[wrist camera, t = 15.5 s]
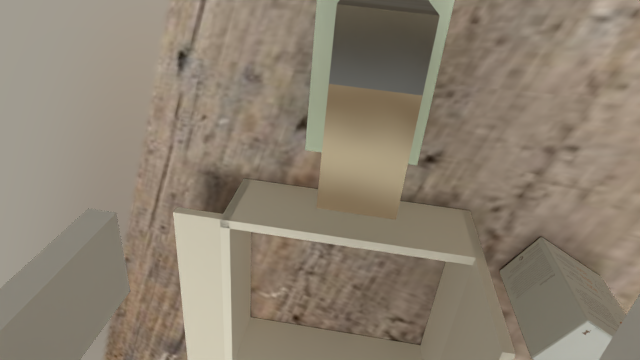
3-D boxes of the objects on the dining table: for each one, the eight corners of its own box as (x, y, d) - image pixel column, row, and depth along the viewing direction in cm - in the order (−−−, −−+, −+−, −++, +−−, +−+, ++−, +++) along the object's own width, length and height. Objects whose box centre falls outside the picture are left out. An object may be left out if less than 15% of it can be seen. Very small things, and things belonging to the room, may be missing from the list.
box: (392, 141, 37) (396, 219, 27) (335, 133, 37) (316, 208, 27) (421, -10, 31) (439, 15, 21) (352, -18, 31) (336, 4, 21)
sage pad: (416, 162, 38) (417, 165, 38) (306, 147, 39) (305, 150, 38) (461, -38, 30) (463, -38, 30) (322, -52, 31) (320, -52, 31)
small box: (497, 269, 43) (527, 358, 34) (541, 233, 40) (587, 319, 31) (556, 308, 44) (600, 403, 35) (602, 276, 42) (663, 370, 33)
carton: (425, 351, 50) (442, 509, 36) (211, 315, 51) (147, 453, 38) (470, 210, 40) (515, 354, 26) (203, 172, 42) (114, 288, 28)
